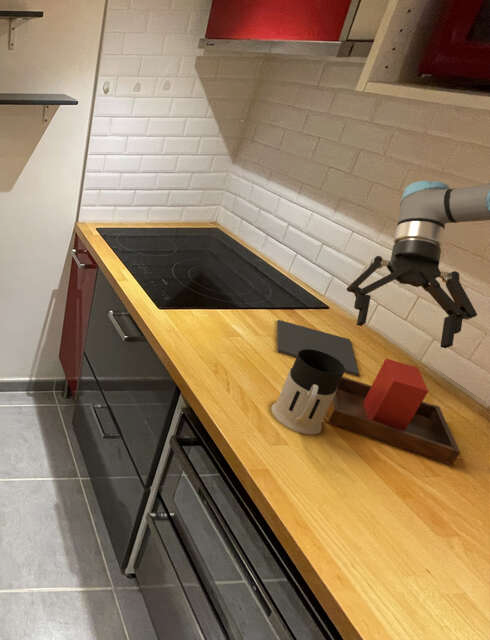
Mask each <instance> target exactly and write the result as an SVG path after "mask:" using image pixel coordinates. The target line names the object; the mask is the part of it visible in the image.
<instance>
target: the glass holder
mask: <svg viewBox="0 0 490 640" xmlns="http://www.w3.org/2000/svg"><path fill="white" fill-rule="evenodd" d="M345 373H346V372H345V367H344V365H343V364H342V363H341V362H340V361H339V360H337V359H336V358H334V357H333V356H331V355H328V354H326V353H324V352H321V351H317V350H312V349H303V350H300V351H299V353H298V355H297V357H295V360H294V362H293V364H292V367H291V368H290V369H289V371H288V374H287V377H286V378H285V381H284V383H283V386H282V388H281V391H280V393H279V395H278V398H277V401H275V402H274V403H273V404H272V406H271V407H270V409H271V413H272V415H273V416H274V418H275V419H276V420H277V421H278V422H279V423H281V424H282V425H283V426H284V427H286V428H288V429H290V430H292V431H295V432H297V433H300V434H302V435H303V434H304V435H317V434H319V433H320V432H321V431H322V429H323V426H322V425H323V424H322V423H323V420H324V419H325V417H326V415H327V410H328V408H329V406H330V404H331V402H332V400H333V398H334V396H335V393H336V391H337V389H338V384H339V382H340V380H341V378H342V377H344V374H345Z"/></svg>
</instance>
